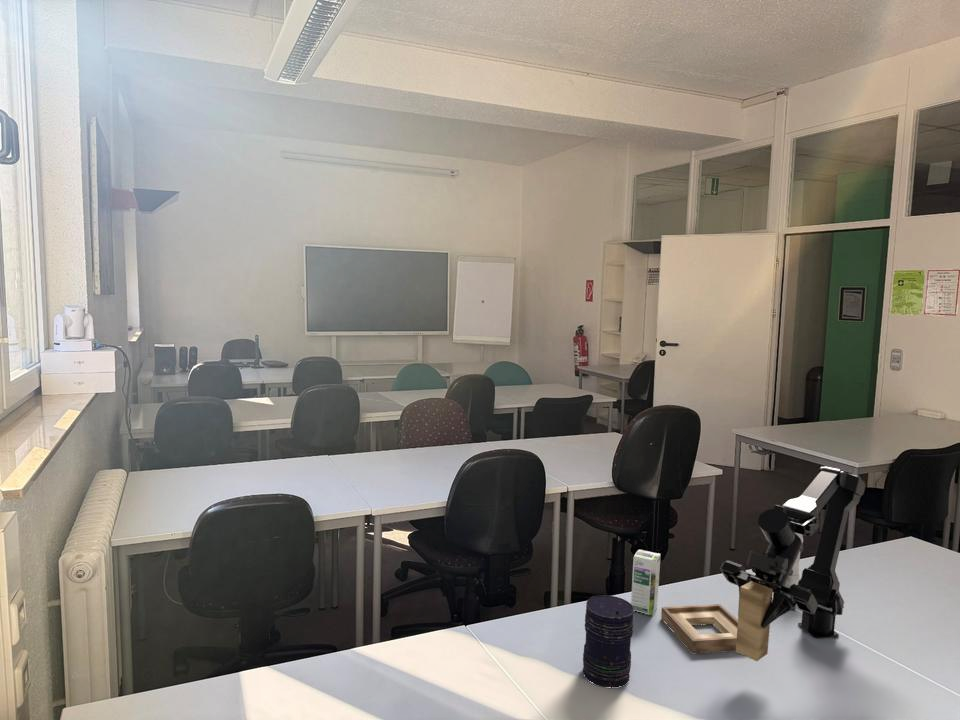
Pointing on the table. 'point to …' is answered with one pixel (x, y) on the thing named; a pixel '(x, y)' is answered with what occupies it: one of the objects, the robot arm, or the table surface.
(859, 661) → the table surface
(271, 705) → the table surface
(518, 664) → the table surface
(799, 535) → the plastic bottle
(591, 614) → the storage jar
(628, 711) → the table surface
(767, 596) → the peg
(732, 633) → the socket box
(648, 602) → the syrup box
